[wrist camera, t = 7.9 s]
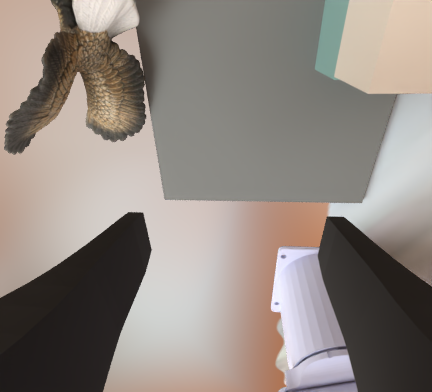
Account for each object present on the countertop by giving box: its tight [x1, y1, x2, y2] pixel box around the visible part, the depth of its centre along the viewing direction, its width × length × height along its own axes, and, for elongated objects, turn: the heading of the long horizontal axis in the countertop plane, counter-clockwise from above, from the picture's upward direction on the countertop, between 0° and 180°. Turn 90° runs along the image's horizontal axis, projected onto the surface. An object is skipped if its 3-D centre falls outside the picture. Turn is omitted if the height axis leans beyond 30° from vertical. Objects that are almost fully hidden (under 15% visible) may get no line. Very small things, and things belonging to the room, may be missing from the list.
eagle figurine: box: [4, 0, 146, 155], centre depth 15 cm, size 8×8×10 cm
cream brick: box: [334, 0, 432, 94], centre depth 9 cm, size 4×4×4 cm
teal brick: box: [315, 0, 349, 80], centre depth 13 cm, size 4×4×4 cm
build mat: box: [135, 0, 397, 203], centre depth 17 cm, size 18×16×1 cm
